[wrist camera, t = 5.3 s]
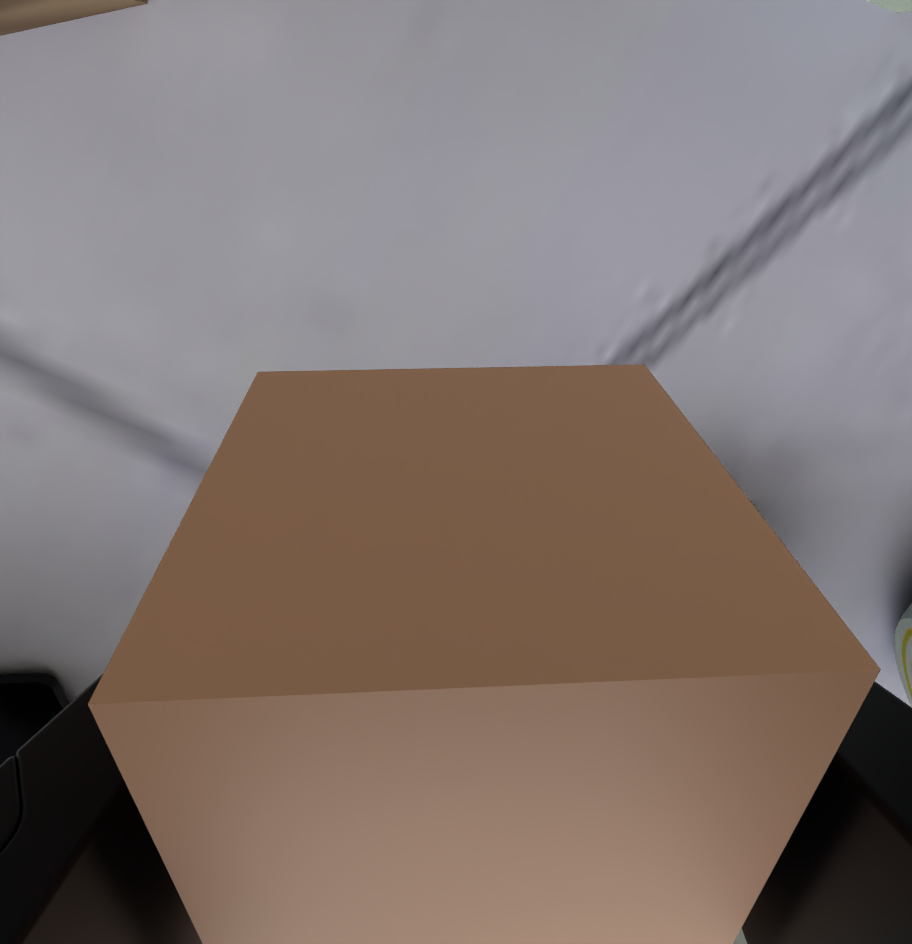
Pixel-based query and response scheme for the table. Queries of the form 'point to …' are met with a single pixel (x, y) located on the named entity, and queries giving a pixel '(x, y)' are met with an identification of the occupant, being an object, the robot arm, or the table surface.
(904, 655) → the air freshener
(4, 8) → the walnut cube
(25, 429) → the table surface
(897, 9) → the sage cube
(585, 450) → the terracotta cube
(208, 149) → the table surface
